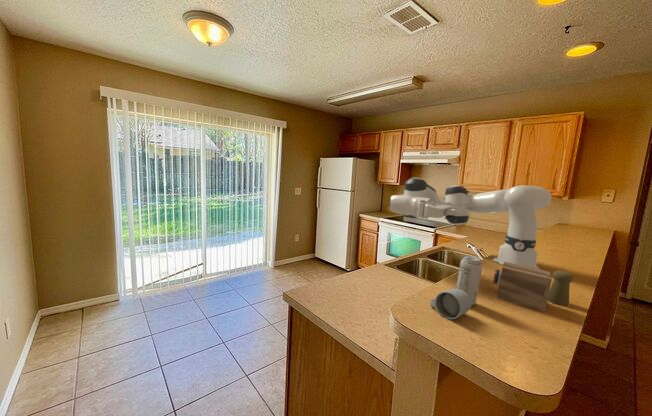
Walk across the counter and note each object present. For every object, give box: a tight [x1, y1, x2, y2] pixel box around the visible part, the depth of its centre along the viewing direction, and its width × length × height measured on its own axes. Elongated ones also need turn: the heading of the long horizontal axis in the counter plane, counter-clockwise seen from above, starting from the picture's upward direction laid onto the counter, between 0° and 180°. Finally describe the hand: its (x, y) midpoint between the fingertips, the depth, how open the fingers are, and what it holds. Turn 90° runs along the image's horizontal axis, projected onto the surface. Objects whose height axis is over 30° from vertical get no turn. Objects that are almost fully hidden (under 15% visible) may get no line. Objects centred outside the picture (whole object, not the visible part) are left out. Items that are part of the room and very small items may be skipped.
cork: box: [547, 269, 574, 307], centre depth 93 cm, size 6×6×11 cm
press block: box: [496, 262, 553, 313], centre depth 92 cm, size 9×13×11 cm
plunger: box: [492, 269, 502, 285], centre depth 93 cm, size 5×13×5 cm, turn 54°
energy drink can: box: [455, 255, 483, 307], centre depth 86 cm, size 6×6×15 cm
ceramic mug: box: [429, 288, 472, 320], centre depth 80 cm, size 11×8×8 cm
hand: (460, 213), depth 107 cm, fingers closed
